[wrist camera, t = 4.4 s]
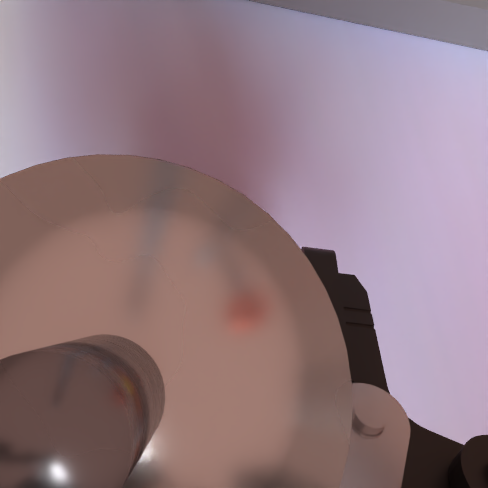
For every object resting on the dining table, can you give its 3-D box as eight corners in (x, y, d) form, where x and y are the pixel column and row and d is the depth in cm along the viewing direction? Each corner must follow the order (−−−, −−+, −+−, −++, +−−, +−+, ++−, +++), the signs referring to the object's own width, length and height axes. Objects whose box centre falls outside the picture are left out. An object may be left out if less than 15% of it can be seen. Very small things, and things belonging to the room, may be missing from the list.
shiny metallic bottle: (106, 387, 15) (-499, 801, 3) (140, 244, 16) (-215, 21, 3) (250, 416, 15) (340, 976, 3) (278, 273, 16) (464, 163, 3)
